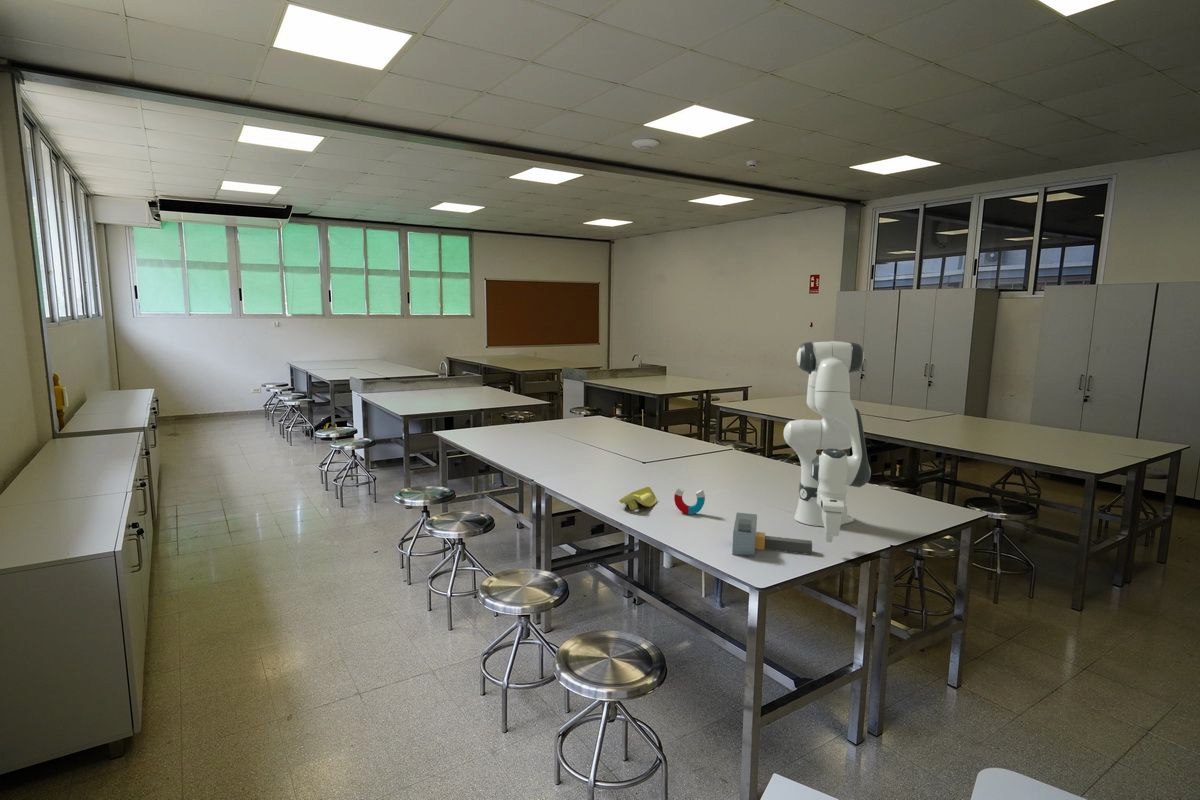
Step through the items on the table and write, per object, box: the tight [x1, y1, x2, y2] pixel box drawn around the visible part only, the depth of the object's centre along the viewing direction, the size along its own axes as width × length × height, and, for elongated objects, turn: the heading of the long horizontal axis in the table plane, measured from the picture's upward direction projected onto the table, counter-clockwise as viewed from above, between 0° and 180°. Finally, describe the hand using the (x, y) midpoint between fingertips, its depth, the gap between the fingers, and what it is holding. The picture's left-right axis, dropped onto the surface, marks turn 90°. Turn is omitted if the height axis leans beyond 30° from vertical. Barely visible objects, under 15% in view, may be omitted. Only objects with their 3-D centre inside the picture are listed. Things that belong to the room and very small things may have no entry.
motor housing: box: [731, 512, 758, 558], centre depth 204 cm, size 7×20×10 cm, turn 164°
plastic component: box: [618, 486, 658, 511], centre depth 246 cm, size 20×7×10 cm
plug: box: [755, 531, 813, 555], centre depth 202 cm, size 21×4×4 cm, turn 74°
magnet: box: [673, 486, 706, 515], centre depth 237 cm, size 12×3×10 cm, turn 73°
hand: (828, 540), depth 196 cm, fingers closed
